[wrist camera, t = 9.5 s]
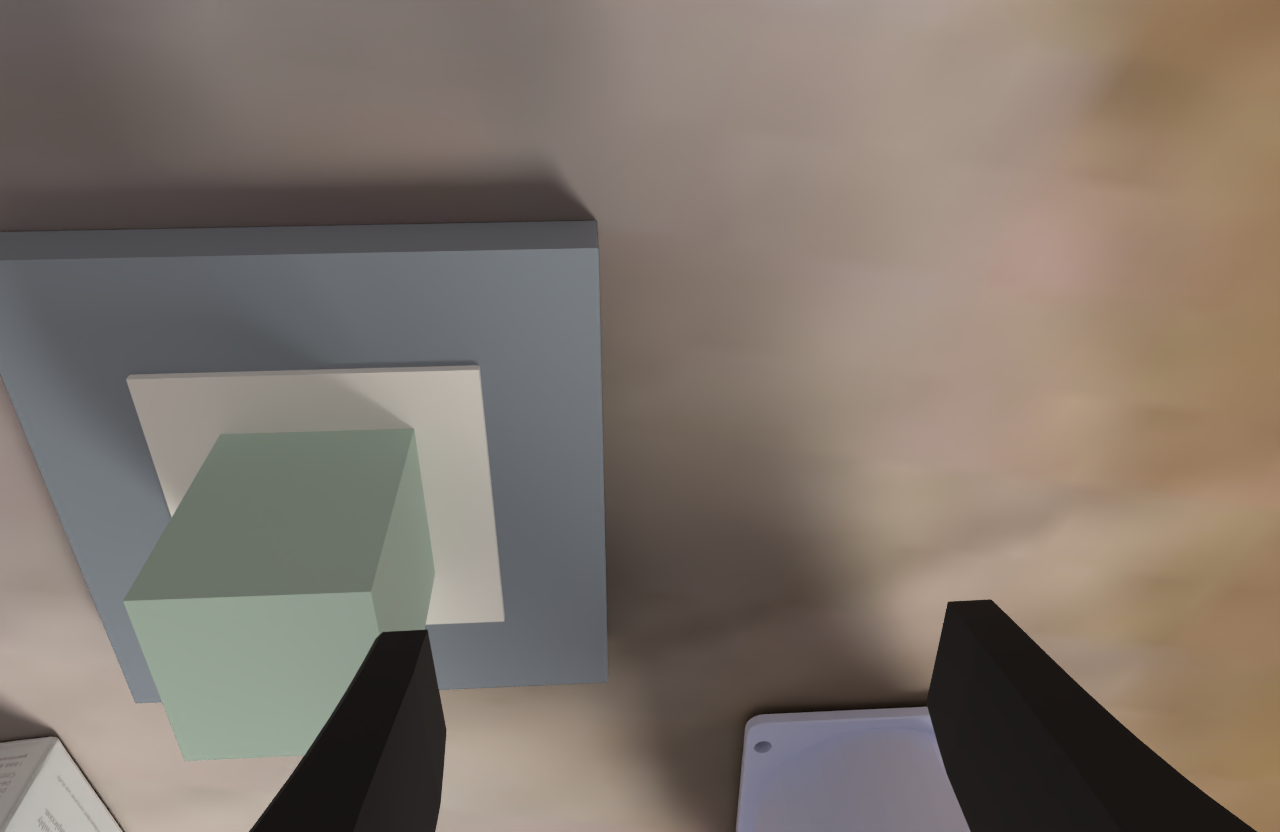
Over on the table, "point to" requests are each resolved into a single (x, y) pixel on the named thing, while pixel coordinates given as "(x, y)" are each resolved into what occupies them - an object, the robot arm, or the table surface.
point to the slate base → (333, 404)
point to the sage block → (281, 584)
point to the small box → (47, 791)
